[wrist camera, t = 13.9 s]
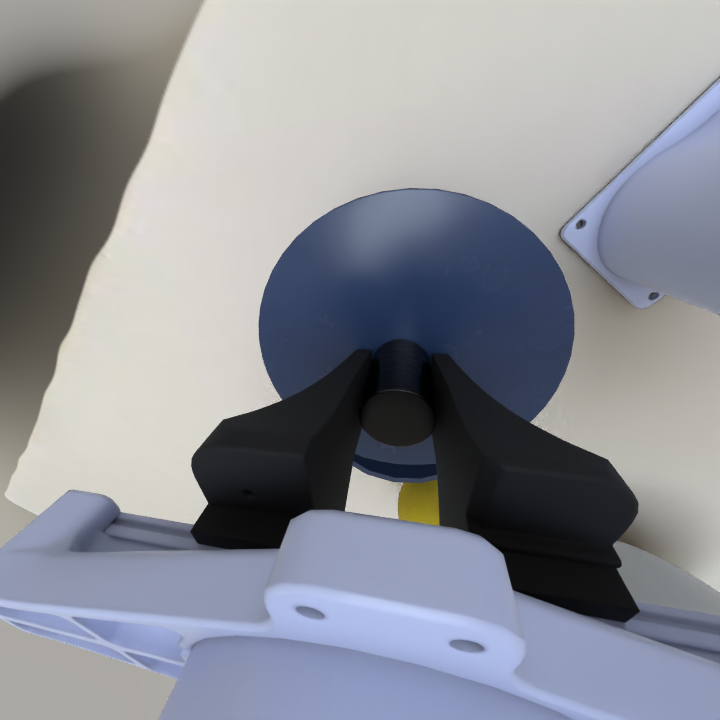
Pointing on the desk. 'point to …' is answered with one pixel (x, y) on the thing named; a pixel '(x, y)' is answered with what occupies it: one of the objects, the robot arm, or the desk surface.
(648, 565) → the decorative bowl
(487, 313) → the pot lid
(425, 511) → the lemon
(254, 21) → the desk surface
